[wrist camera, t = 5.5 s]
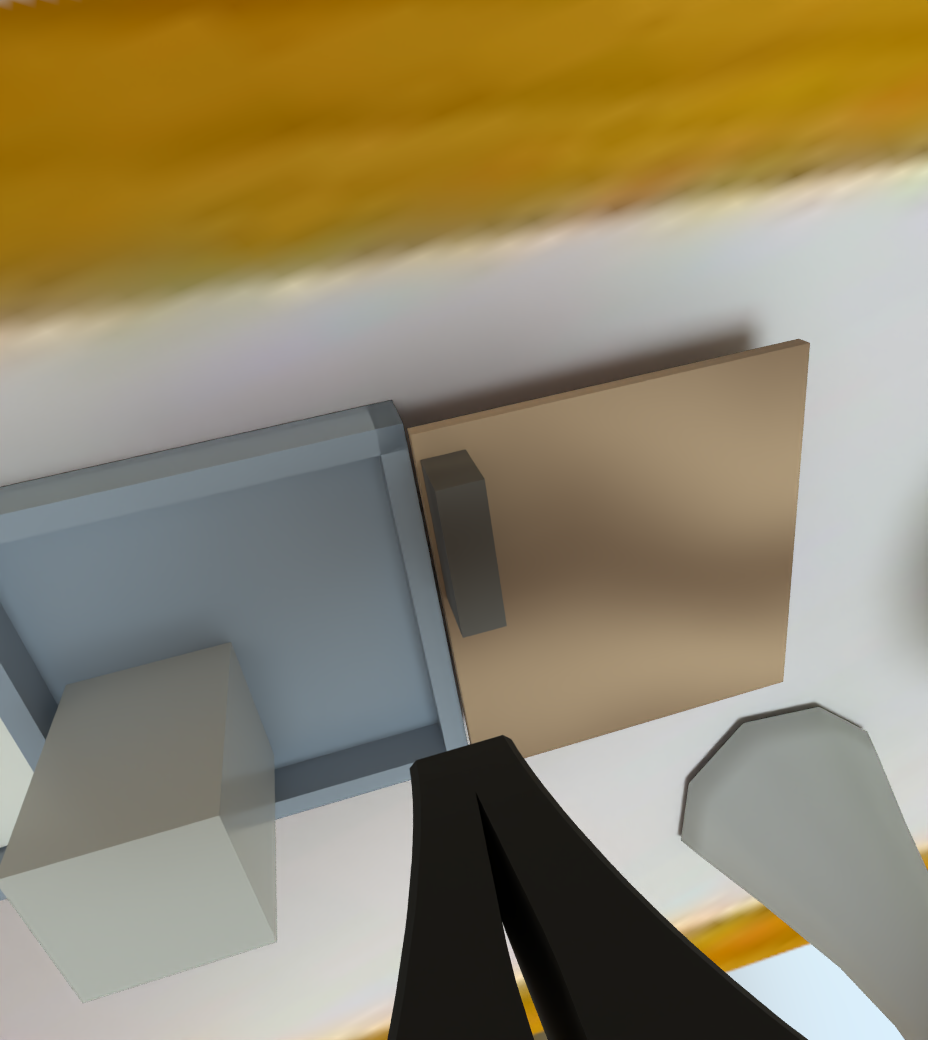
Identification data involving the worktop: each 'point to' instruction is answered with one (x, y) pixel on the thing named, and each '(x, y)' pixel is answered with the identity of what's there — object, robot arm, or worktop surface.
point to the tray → (238, 597)
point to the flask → (821, 850)
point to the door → (617, 545)
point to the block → (148, 826)
